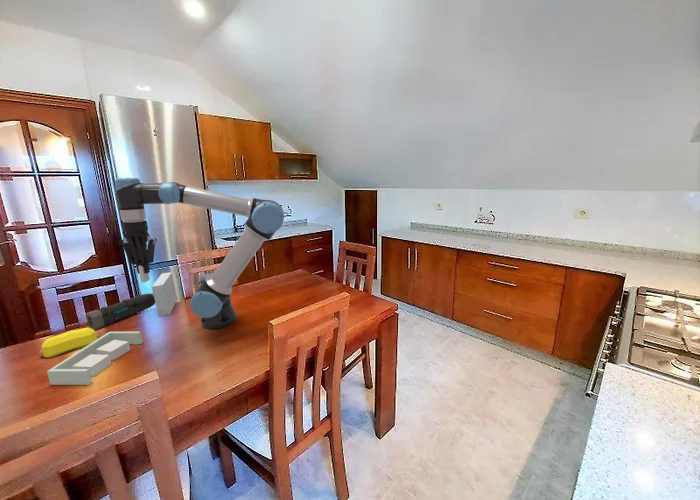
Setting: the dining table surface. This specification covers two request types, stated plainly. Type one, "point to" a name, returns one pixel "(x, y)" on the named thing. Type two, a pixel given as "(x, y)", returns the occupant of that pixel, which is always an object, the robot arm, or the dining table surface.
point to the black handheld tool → (119, 311)
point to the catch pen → (70, 376)
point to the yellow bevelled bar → (68, 341)
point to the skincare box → (164, 294)
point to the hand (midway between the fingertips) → (145, 281)
